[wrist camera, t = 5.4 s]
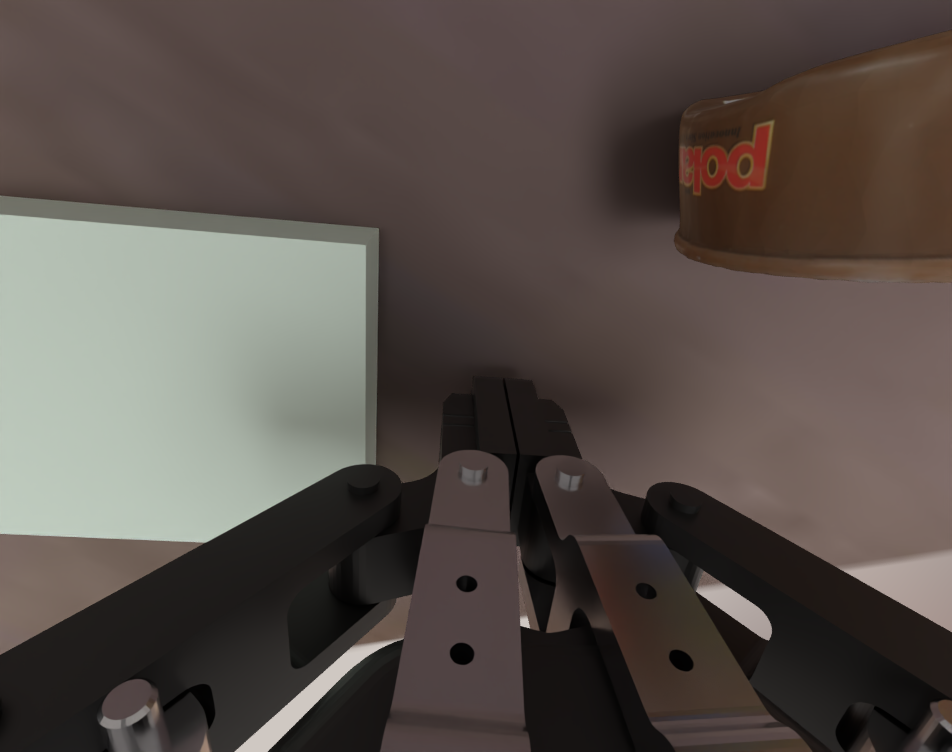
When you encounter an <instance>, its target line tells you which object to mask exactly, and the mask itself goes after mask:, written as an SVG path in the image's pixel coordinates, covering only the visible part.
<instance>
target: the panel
mask: <svg viewBox="0 0 952 752" xmlns="http://www.w3.org/2000/svg"><path fill="white" fill-rule="evenodd" d="M378 274H379V228H371V227H359V226H347V225H336V224H324V223H313V222H301V221H289V220H278V219H266V218H254V217H243V216H231V215H220V214H208V213H196V212H185V211H173V210H162V209H150V208H138V207H127V206H115V205H104V204H92V203H80V202H69V201H57V200H46V199H34V198H22V197H11V196H0V534H19V535H43V536H66V537H89V538H112V539H136V540H159V541H182V542H205V543H206V542H208V541H210V540H212V539H214V538H215V537H217V536H219V535H221V534H223V533H225V532H226V531H228V530H230V529H232V528H234V527H236V526H237V525H239V524H241V523H243V522H245V521H247V520H248V519H250V518H252V517H254V516H256V515H258V514H259V513H261V512H263V511H265V510H267V509H268V508H270V507H272V506H274V505H276V504H278V503H279V502H281V501H283V500H285V499H287V498H289V497H290V496H292V495H294V494H296V493H298V492H300V491H301V490H303V489H305V488H307V487H309V486H311V485H312V484H314V483H316V482H318V481H320V480H322V479H323V478H325V477H327V476H329V475H331V474H333V473H334V472H336V471H338V470H340V469H342V468H345V467H348V466H352V465H359V464H372V465H376V424H377V349H378Z"/></svg>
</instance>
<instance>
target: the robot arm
mask: <svg viewBox="0 0 952 752" xmlns="http://www.w3.org/2000/svg"><path fill="white" fill-rule="evenodd" d="M517 546H520V550H521V557H520V562H519V568H517ZM703 571H705V572H707V573H708V574H710V575H711V576H713V577H714V578H716V579H717V580H719V581H720V582H722V583H723V584H725V585H726V586H728V587H729V588H731V589H732V590H734V591H735V592H737V593H738V594H740V595H741V596H743V597H744V598H746V599H747V600H749V601H750V602H752V603H753V604H755V605H756V606H757V607H759V608H760V609H761V610H762V611H763V612H764V613H765V614H766V616H767V617H768V619H769V621H770V623H771V626H772V635H771V638H770V640H769V641H768V640H765V639H763V638H761V637H759V636H758V635H757V634H755V633H754V632H752V631H751V630H749V629H748V628H747V627H745V626H744V625H742V624H741V623H739V622H738V621H737V620H735V619H734V618H732V617H731V616H730V615H728V614H727V613H725V612H724V611H722V610H721V609H720V608H718V607H717V606H715V605H714V604H712V603H711V602H710V601H708V600H707V599H706V598H704V597H702V596H701V595H700V594H698V593H697V592H696V590H697V587H698V584H699V582H700V579H701V576H702V573H703ZM518 578H519V582H520V587H521V591H522V595H523V599H524V603H525V607H526V612H527V616H528V620H529V624H530V628H531V629H530V628H526V627H522V626H520V611H519V589H518ZM411 594H412V598H411V604H410V609H409V614H408V620H407V625H406V631H405V636H404V639H403V640H400V641H397V642H394V643H392V644H389V645H387V646H385V647H383V648H381V649H379V650H377V651H376V652H374V653H372V654H371V655H369V656H368V657H366V658H365V659H363V660H362V661H361V662H360V663H358V664H357V665H356V666H354V667H353V668H352V669H351V670H350V671H348V672H347V674H345V675H344V676H343V677H342V678H341V679H340V680H339V681H338V682H337V683H336V684H335V685H334V686H333V687H332V688H331V689H330V690H329V691H328V692H327V693H326V694H325V695H324V696H323V697H322V698H321V699H320V700H319V701H318V702H317V703H316V704H315V705H314V706H313V707H312V708H311V709H310V710H309V711H308V712H307V713H306V714H305V715H304V716H303V717H302V718H301V719H300V720H299V721H298V722H297V723H296V724H295V725H294V726H293V727H292V728H291V729H290V730H289V731H288V732H287V733H286V734H285V735H284V736H283V737H282V738H281V739H280V740H279V741H278V742H277V743H276V744H275V745H274V746H273V747H272V748H271V749H270V750H269V751H268V752H952V632H950V631H949V630H947V629H945V628H943V627H941V626H940V625H938V624H936V623H934V622H933V621H931V620H929V619H927V618H925V617H924V616H922V615H920V614H918V613H917V612H915V611H913V610H911V609H909V608H908V607H906V606H904V605H902V604H901V603H899V602H897V601H895V600H893V599H892V598H890V597H888V596H886V595H884V594H883V593H881V592H879V591H877V590H875V589H874V588H872V587H870V586H868V585H867V584H865V583H863V582H861V581H860V580H858V579H856V578H854V577H853V576H851V575H849V574H847V573H846V572H844V571H842V570H840V569H838V568H837V567H835V566H833V565H831V564H830V563H828V562H826V561H824V560H822V559H821V558H819V557H817V556H815V555H814V554H812V553H810V552H808V551H807V550H805V549H803V548H801V547H799V546H798V545H796V544H794V543H792V542H791V541H789V540H787V539H785V538H783V537H782V536H780V535H778V534H776V533H775V532H773V531H771V530H769V529H767V528H766V527H764V526H762V525H760V524H759V523H757V522H755V521H753V520H751V519H750V518H748V517H746V516H744V515H743V514H741V513H739V512H737V511H735V510H734V509H732V508H730V507H728V506H727V505H725V504H723V503H721V502H719V501H718V500H716V499H714V498H712V497H711V496H709V495H707V494H705V493H704V492H702V491H700V490H698V489H696V488H693V487H691V486H688V485H684V484H680V483H674V482H662V483H657V484H655V485H653V486H651V487H650V488H649V490H648V492H647V495H646V499H643V498H640V497H636V496H632V495H628V494H624V493H621V492H617V491H615V490H612V489H610V487H609V485H608V484H607V482H606V480H605V478H604V476H603V475H602V473H601V472H600V471H599V470H598V469H597V468H596V467H595V466H594V465H592V464H590V463H589V462H587V461H585V460H582V457H581V454H580V452H579V449H578V447H577V444H576V442H575V439H574V437H573V434H572V433H571V429H570V426H569V424H568V421H567V419H566V416H565V413H564V411H563V410H562V409H561V408H560V407H559V406H558V405H557V404H555V403H554V402H553V401H552V400H545V399H538V397H537V394H536V390H535V387H534V384H533V381H532V380H524V379H509V378H503V380H502V378H494V377H480V376H473V381H472V390H471V395H469V394H455V393H452V394H451V395H450V396H449V397H448V398H447V399H446V400H445V401H444V403H443V415H442V428H441V440H440V453H439V466H438V469H437V470H436V471H435V472H434V473H432V474H431V475H429V476H427V477H425V478H423V479H420V480H417V481H412V482H406V483H401V480H400V478H399V477H398V476H397V475H396V474H395V473H394V472H393V471H391V470H389V469H387V468H385V467H382V466H378V465H372V464H359V465H352V466H348V467H345V468H342V469H340V470H338V471H336V472H334V473H333V474H331V475H329V476H327V477H325V478H323V479H322V480H320V481H318V482H316V483H314V484H312V485H311V486H309V487H307V488H305V489H303V490H301V491H300V492H298V493H296V494H294V495H292V496H290V497H289V498H287V499H285V500H283V501H281V502H279V503H278V504H276V505H274V506H272V507H270V508H268V509H267V510H265V511H263V512H261V513H259V514H258V515H256V516H254V517H252V518H250V519H248V520H247V521H245V522H243V523H241V524H239V525H237V526H236V527H234V528H232V529H230V530H228V531H226V532H225V533H223V534H221V535H219V536H217V537H215V538H214V539H212V540H210V541H208V542H206V543H204V544H203V545H201V546H199V547H197V548H195V549H193V550H192V551H190V552H188V553H186V554H184V555H182V556H181V557H179V558H177V559H175V560H173V561H171V562H170V563H168V564H166V565H164V566H162V567H160V568H159V569H157V570H155V571H153V572H151V573H150V574H148V575H146V576H144V577H142V578H140V579H139V580H137V581H135V582H133V583H131V584H129V585H128V586H126V587H124V588H122V589H120V590H118V591H117V592H115V593H113V594H111V595H109V596H107V597H106V598H104V599H102V600H100V601H98V602H96V603H95V604H93V605H91V606H89V607H87V608H85V609H84V610H82V611H80V612H78V613H76V614H74V615H73V616H71V617H69V618H67V619H65V620H63V621H62V622H60V623H58V624H56V625H54V626H52V627H51V628H49V629H47V630H45V631H43V632H42V633H40V634H38V635H36V636H34V637H32V638H31V639H29V640H27V641H25V642H23V643H21V644H20V645H18V646H16V647H14V648H12V649H10V650H9V651H7V652H5V653H3V654H1V655H0V752H234V751H235V750H237V749H238V748H239V747H240V746H241V745H242V744H243V743H244V742H246V741H247V740H248V739H249V738H250V737H251V736H252V735H253V734H254V733H256V732H257V731H258V730H259V729H260V728H261V727H262V726H263V725H265V724H266V723H267V722H268V721H269V720H270V719H271V718H272V717H273V716H275V715H276V714H277V713H278V712H279V711H280V710H281V709H282V708H284V707H285V706H286V705H287V704H288V703H289V702H290V701H291V700H293V699H294V698H295V697H296V696H297V695H298V694H299V693H300V692H301V691H303V690H304V689H305V688H306V687H307V686H308V685H309V684H310V683H312V682H313V681H314V680H315V679H316V678H317V677H318V676H319V675H320V674H322V673H323V672H324V671H325V670H326V669H327V668H328V667H329V666H331V665H332V664H333V663H334V662H335V661H336V660H337V659H338V658H340V657H341V656H342V655H343V654H344V653H345V652H346V651H347V650H348V649H350V648H351V647H352V646H353V645H354V644H355V643H356V642H357V641H359V640H360V639H361V638H362V637H363V636H364V635H365V634H366V633H367V632H369V631H370V630H371V629H372V628H373V627H374V626H375V625H376V624H378V623H379V622H380V621H381V620H382V619H383V618H384V617H385V616H386V615H388V614H389V612H390V611H391V610H392V609H393V607H394V605H395V603H396V599H397V598H399V597H403V596H407V595H411Z"/></svg>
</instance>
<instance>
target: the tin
mask: <svg viewBox="0 0 952 752" xmlns="http://www.w3.org/2000/svg"><path fill="white" fill-rule="evenodd" d="M678 161H679V196H680V228H679V229H678V231H677V232H676V234H675V239H674V242H675V246H676V249H677V250H678V251H679V252H680V253H681V254H683V255H685V256H686V257H687V258H688V259H692V260H695V261H698V262H702V263H705V264H708V265H712V266H715V267H723V268H726V269H730V270H735V271H742V272H750V273H763V274H769V275H774V276H786V277H802V278H812V279H820V280H846V281H857V282H866V283H871V282H888V283H900V282H904V283H928V282H939V283H950V282H952V30H949V31H945V32H941V33H937V34H933V35H930V36H926V37H922V38H918V39H914V40H910V41H906V42H902V43H898V44H895V45H891V46H887V47H883V48H879V49H875V50H871V51H868V52H864V53H861V54H857V55H854V56H850V57H847V58H843V59H840V60H836V61H833V62H829V63H826V64H823V65H820V66H818V67H815V68H812V69H810V70H807V71H805V72H802V73H799V74H797V75H794V76H792V77H789V78H787V79H784V80H782V81H781V82H779V83H777V84H775V85H773V86H772V87H770V88H768V89H766V90H764V91H760V92H754V93H748V94H741V95H735V96H728V97H722V98H715V99H704V100H700V101H698V102H696V103H694V104H692V105H691V106H689V107H688V108H687V109H686V110H685V111H684V113H683V115H682V118H681V123H680V128H679V156H678Z"/></svg>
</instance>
